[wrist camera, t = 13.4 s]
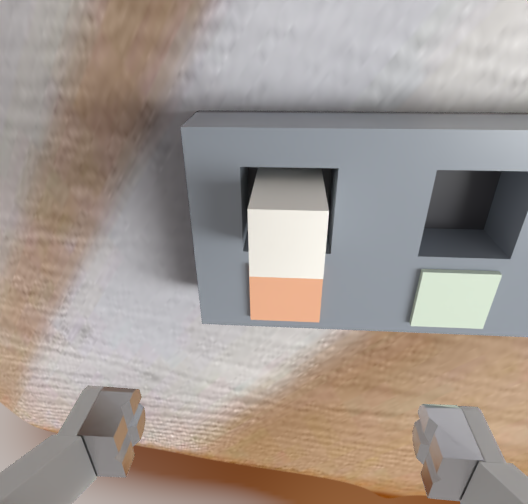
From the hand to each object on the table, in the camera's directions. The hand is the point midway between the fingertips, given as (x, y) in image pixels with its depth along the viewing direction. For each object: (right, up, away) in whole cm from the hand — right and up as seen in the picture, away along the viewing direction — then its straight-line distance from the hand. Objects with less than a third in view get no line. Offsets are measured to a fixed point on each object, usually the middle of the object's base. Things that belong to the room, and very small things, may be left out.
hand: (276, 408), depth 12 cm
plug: (+1, +9, +16) cm, 18 cm away
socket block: (+12, +7, +16) cm, 22 cm away
